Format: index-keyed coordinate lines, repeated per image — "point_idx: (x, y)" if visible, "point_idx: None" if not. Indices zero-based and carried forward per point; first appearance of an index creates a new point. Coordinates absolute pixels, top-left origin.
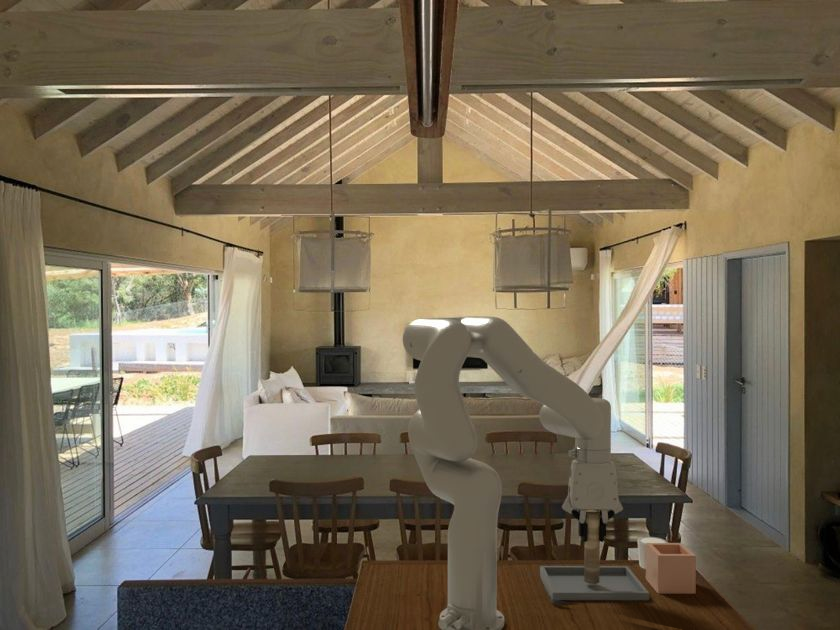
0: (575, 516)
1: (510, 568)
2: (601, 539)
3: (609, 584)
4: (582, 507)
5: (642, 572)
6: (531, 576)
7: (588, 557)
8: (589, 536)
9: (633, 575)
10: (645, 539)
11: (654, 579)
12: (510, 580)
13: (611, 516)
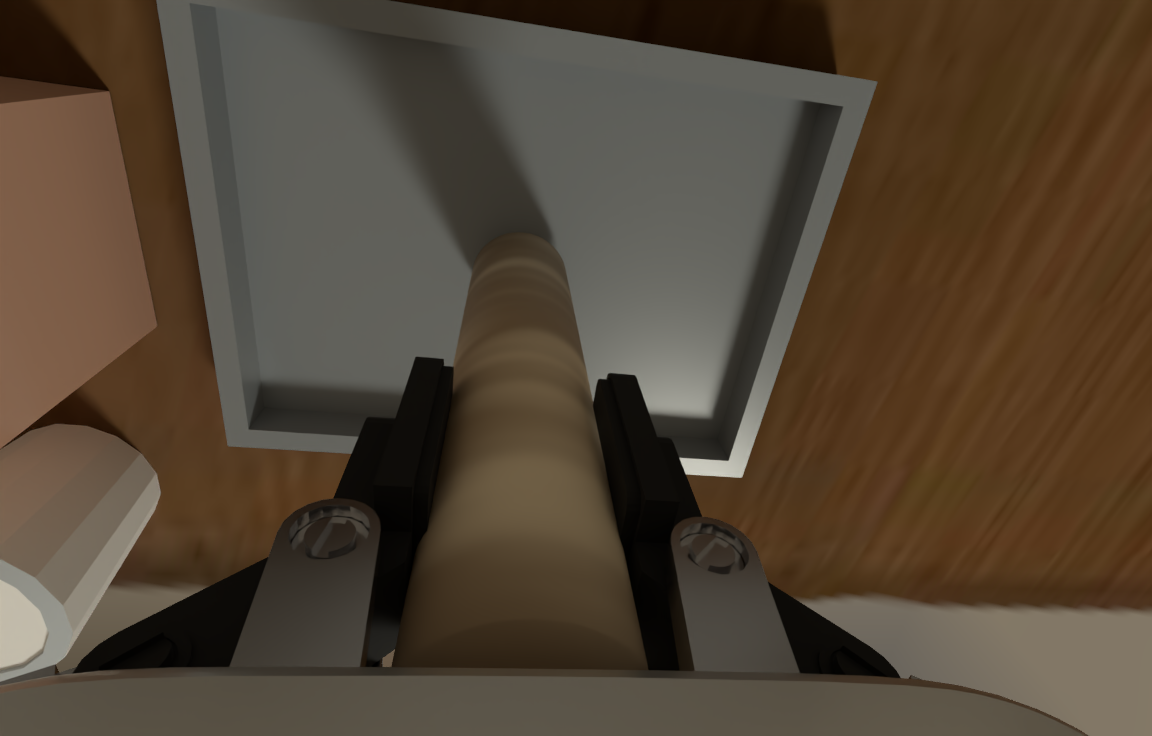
0: (814, 622)
1: (810, 533)
2: (441, 364)
3: (403, 272)
4: (914, 724)
5: (151, 460)
6: (760, 450)
7: (566, 313)
8: (577, 405)
9: (217, 307)
10: (7, 644)
11: (61, 185)
12: (882, 414)
13: (182, 608)
